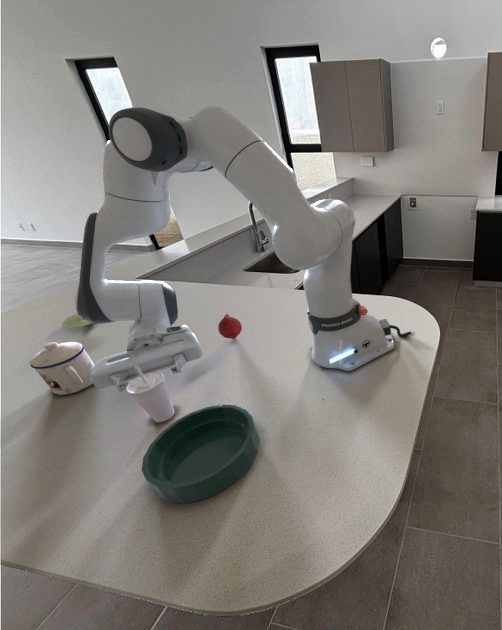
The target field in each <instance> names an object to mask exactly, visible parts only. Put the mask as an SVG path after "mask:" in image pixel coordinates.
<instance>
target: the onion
mask: <svg viewBox="0 0 502 630" xmlns="http://www.w3.org/2000/svg"><path fill="white" fill-rule="evenodd" d="M217 330H218V332H219V334H220V335H221V336H222V337H223V338H226V339H231V340H234V339H236V338H237V337H238V336H239V335H240V334H241V333H242V330H243V326H242V323H241V321H240V320H239V319H237V318H236V317H234V316H230V315H229V314H228V313H225V314H224V316H223V318H222V319H220V321H219V323H218V327H217Z"/></svg>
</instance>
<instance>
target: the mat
mask: <svg viewBox="0 0 502 630" xmlns="http://www.w3.org/2000/svg"><path fill="white" fill-rule="evenodd" d="M92 324H93V323H92V322H90V321H87V320H86V319H84V318H82V317H81V316H79V315H78V313H75V314H73V315H71V316H68V317H67V318H66V319H64V320H63V321H62V323H61V326H62V328H65V329H66V328H67V329H75V328H81V327H85V326H87V325H88V326H89V325H92Z"/></svg>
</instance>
